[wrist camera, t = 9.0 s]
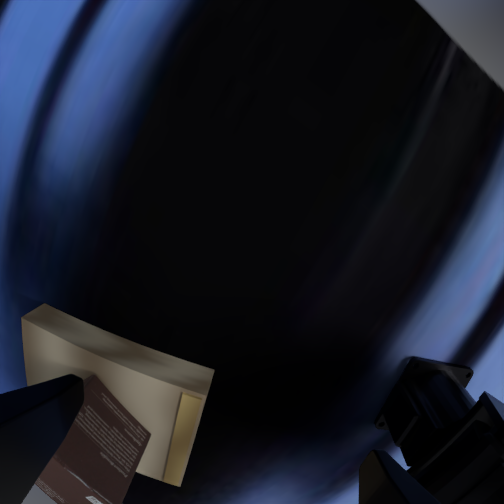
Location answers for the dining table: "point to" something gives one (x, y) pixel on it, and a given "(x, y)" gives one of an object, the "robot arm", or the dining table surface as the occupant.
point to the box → (96, 452)
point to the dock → (124, 382)
